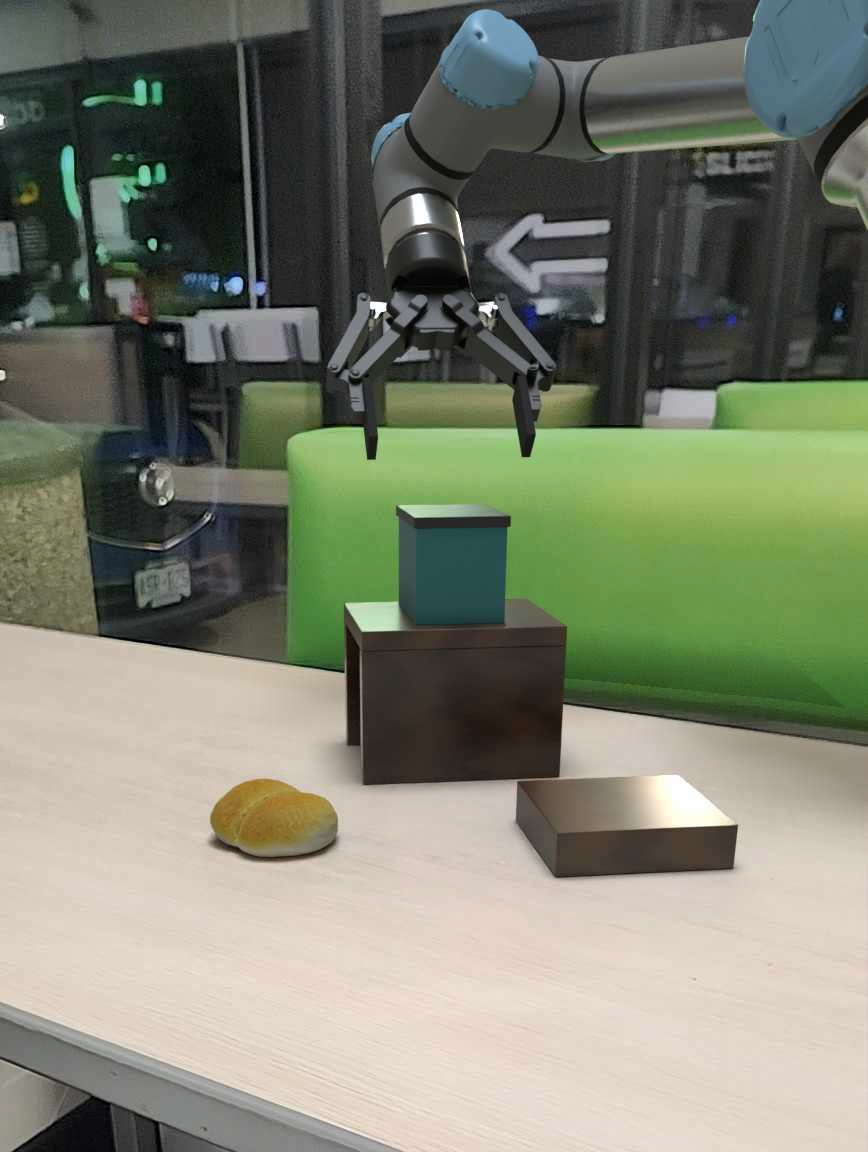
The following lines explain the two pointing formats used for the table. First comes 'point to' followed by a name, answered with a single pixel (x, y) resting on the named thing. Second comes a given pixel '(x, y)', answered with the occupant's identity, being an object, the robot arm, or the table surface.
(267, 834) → the bread roll
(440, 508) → the box
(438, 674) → the top shelf
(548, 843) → the bottom shelf
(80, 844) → the table surface
